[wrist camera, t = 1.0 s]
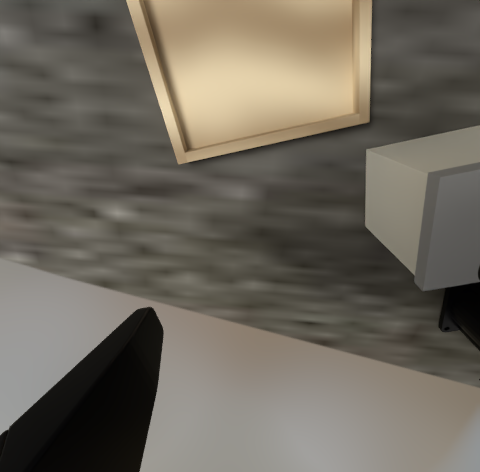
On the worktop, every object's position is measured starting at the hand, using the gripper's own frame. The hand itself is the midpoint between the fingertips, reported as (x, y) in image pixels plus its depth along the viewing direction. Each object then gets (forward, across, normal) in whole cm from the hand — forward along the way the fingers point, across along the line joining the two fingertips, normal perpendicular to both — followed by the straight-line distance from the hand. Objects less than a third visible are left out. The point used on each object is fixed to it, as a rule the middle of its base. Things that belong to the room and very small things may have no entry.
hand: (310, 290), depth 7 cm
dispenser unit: (+13, -12, +3) cm, 18 cm away
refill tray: (+13, -1, -8) cm, 15 cm away
